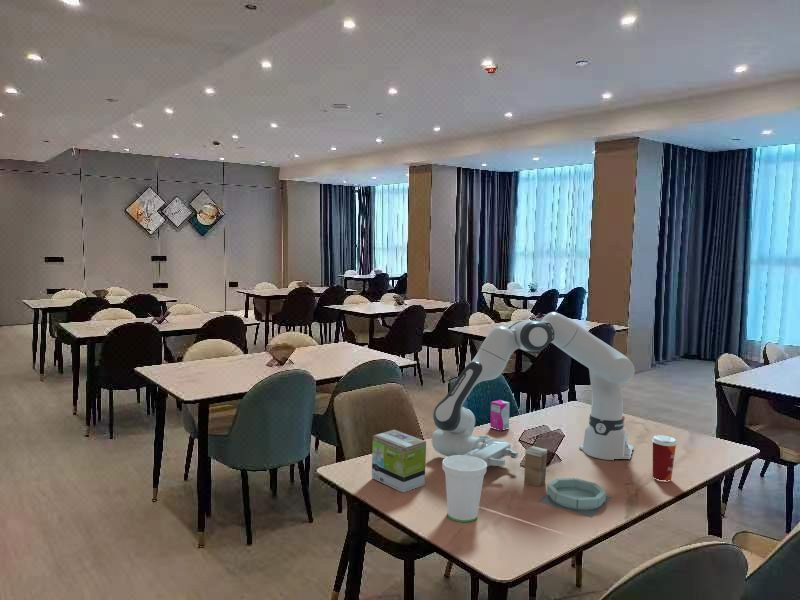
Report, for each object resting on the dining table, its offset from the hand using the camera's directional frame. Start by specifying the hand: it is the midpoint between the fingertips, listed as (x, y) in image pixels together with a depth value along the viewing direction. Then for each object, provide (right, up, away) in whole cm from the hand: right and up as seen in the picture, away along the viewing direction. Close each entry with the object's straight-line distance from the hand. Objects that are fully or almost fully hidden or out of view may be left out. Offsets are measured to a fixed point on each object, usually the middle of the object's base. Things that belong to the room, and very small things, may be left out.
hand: (510, 459), depth 196 cm
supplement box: (+5, -2, +53) cm, 53 cm away
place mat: (+16, -8, -17) cm, 25 cm away
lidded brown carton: (+7, -7, -5) cm, 11 cm away
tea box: (-37, -6, -7) cm, 38 cm away
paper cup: (+51, -7, +2) cm, 51 cm away
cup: (-19, -8, -29) cm, 36 cm away
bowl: (+16, -7, -17) cm, 25 cm away
